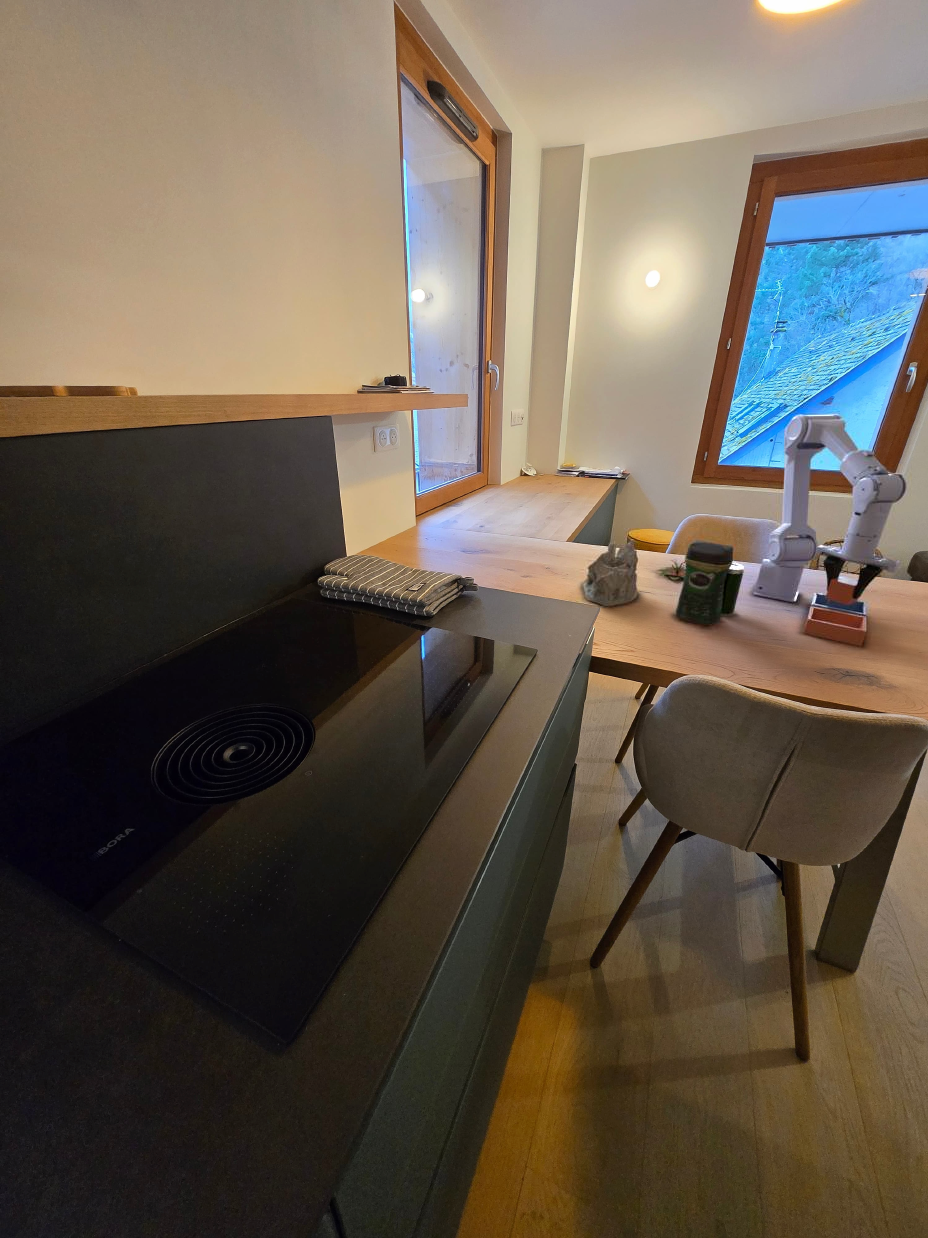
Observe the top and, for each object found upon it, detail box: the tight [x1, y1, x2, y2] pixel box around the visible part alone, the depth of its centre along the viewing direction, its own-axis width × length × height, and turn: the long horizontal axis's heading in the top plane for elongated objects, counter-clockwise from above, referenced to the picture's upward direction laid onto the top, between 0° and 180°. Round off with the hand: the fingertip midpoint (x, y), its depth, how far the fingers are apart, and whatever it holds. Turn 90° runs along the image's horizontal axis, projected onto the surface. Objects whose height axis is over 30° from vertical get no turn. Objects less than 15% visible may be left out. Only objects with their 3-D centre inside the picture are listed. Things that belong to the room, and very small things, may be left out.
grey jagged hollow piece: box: [582, 538, 639, 607], centre depth 130 cm, size 16×16×15 cm
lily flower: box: [655, 558, 686, 581], centre depth 143 cm, size 12×12×5 cm
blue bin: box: [807, 592, 868, 617], centre depth 117 cm, size 10×9×4 cm
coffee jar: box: [675, 540, 734, 626], centre depth 114 cm, size 10×8×19 cm
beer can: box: [720, 562, 744, 617], centre depth 118 cm, size 5×5×12 cm
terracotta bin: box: [803, 605, 868, 647], centre depth 109 cm, size 10×9×4 cm
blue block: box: [826, 599, 853, 611], centre depth 116 cm, size 4×4×4 cm
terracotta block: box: [825, 575, 859, 605], centre depth 108 cm, size 4×4×4 cm
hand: (843, 593), depth 108 cm, fingers closed on terracotta block, 4 cm apart
